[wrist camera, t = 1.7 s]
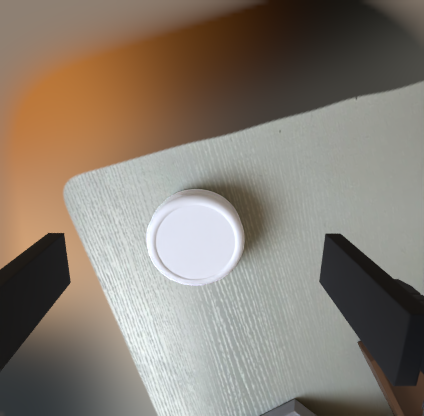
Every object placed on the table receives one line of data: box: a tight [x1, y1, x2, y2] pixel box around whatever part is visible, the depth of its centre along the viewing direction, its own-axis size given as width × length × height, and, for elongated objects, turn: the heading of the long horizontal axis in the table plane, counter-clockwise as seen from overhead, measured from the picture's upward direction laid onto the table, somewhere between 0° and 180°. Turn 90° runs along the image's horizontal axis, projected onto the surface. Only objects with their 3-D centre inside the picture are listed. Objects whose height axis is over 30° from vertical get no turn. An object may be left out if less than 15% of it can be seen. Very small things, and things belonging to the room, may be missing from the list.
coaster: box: [146, 189, 245, 286], centre depth 32 cm, size 10×10×4 cm
